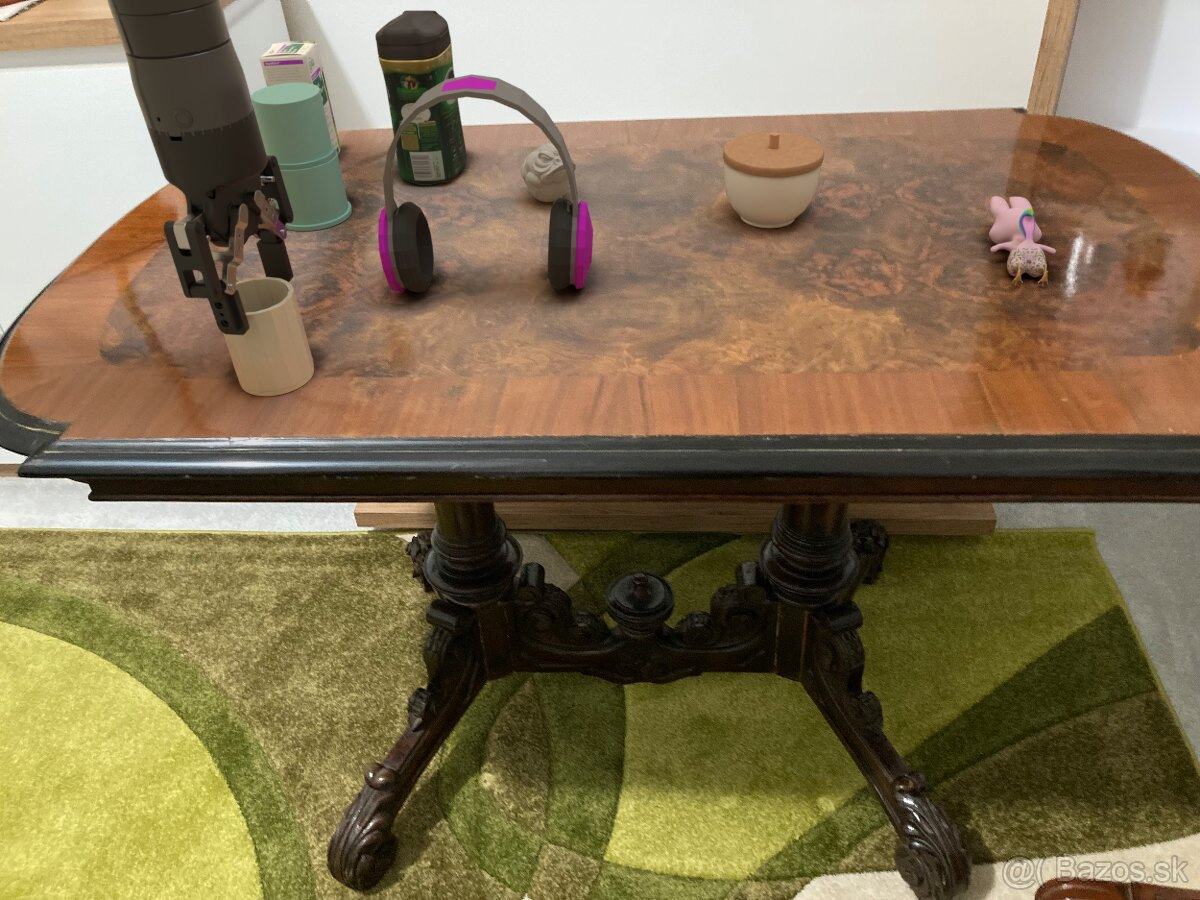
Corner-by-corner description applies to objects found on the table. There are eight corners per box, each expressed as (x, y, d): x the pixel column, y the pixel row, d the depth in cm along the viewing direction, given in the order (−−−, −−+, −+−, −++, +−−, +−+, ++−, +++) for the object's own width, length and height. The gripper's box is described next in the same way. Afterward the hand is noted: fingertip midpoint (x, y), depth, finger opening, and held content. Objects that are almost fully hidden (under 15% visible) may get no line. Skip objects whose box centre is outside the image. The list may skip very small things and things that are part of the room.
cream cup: (268, 405, 78) (242, 323, 73) (225, 379, 81) (197, 299, 76) (329, 371, 81) (308, 291, 76) (285, 348, 85) (263, 269, 80)
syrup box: (333, 171, 118) (307, 53, 109) (287, 173, 118) (257, 54, 109) (342, 155, 122) (318, 39, 113) (298, 156, 122) (271, 41, 113)
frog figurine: (548, 217, 105) (544, 158, 101) (511, 199, 109) (506, 141, 105) (588, 202, 108) (586, 143, 104) (552, 185, 112) (548, 128, 108)
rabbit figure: (1058, 298, 90) (1029, 211, 100) (1078, 248, 86) (1046, 162, 95) (992, 296, 91) (969, 210, 101) (1008, 246, 86) (984, 161, 96)
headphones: (381, 310, 90) (339, 101, 77) (397, 268, 96) (361, 70, 84) (594, 305, 89) (586, 94, 77) (595, 263, 96) (588, 63, 83)
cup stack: (307, 238, 103) (275, 111, 94) (262, 218, 107) (228, 96, 98) (367, 211, 108) (342, 89, 99) (321, 194, 112) (294, 75, 103)
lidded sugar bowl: (702, 208, 106) (706, 126, 100) (783, 190, 109) (790, 110, 103) (750, 245, 98) (757, 159, 92) (835, 225, 101) (846, 141, 95)
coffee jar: (415, 157, 121) (390, 4, 109) (473, 158, 120) (455, 4, 108) (391, 186, 113) (362, 26, 102) (453, 188, 112) (431, 26, 101)
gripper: (199, 78, 73) (255, 264, 83) (95, 145, 62) (174, 349, 72) (288, 79, 72) (334, 267, 82) (198, 147, 61) (264, 354, 71)
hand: (259, 305), depth 77 cm, fingers open, 8 cm apart
